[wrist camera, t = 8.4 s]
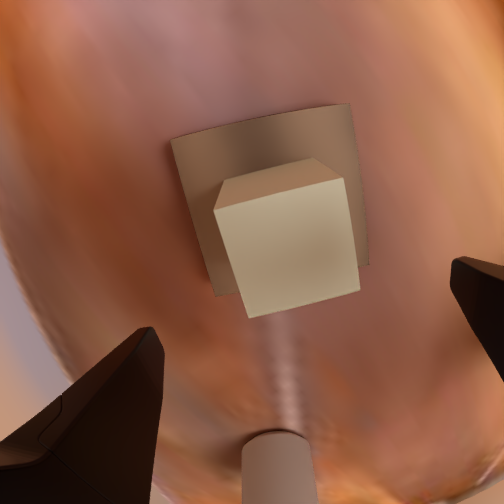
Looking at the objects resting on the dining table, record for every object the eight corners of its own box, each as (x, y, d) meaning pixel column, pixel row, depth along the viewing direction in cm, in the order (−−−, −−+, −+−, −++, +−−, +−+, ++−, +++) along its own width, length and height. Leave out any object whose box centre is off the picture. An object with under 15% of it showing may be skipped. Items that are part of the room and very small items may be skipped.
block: (312, 157, 17) (343, 177, 12) (329, 239, 19) (360, 290, 13) (224, 179, 18) (213, 210, 12) (248, 260, 19) (248, 318, 14)
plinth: (335, 104, 19) (349, 103, 16) (355, 246, 23) (369, 264, 20) (180, 136, 19) (169, 140, 17) (219, 274, 23) (215, 296, 20)
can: (228, 440, 31) (225, 537, 20) (289, 418, 29) (302, 524, 18) (263, 465, 34) (268, 549, 23) (319, 446, 32) (334, 534, 21)
